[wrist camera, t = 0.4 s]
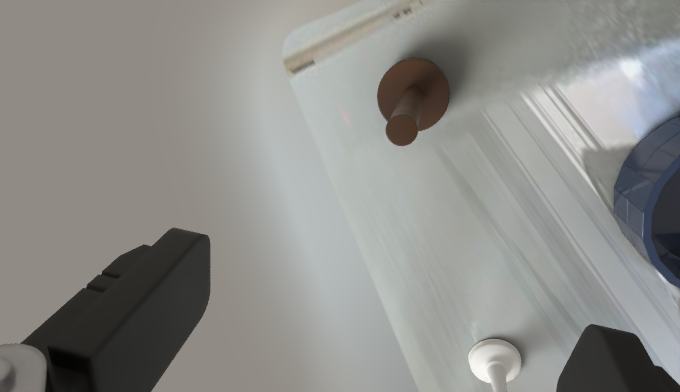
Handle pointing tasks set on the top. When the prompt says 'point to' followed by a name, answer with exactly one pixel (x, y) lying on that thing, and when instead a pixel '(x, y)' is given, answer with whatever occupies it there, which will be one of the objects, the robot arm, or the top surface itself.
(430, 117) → the wooden peg stand
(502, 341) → the chess piece
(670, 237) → the bowl
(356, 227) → the top surface
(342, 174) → the top surface
